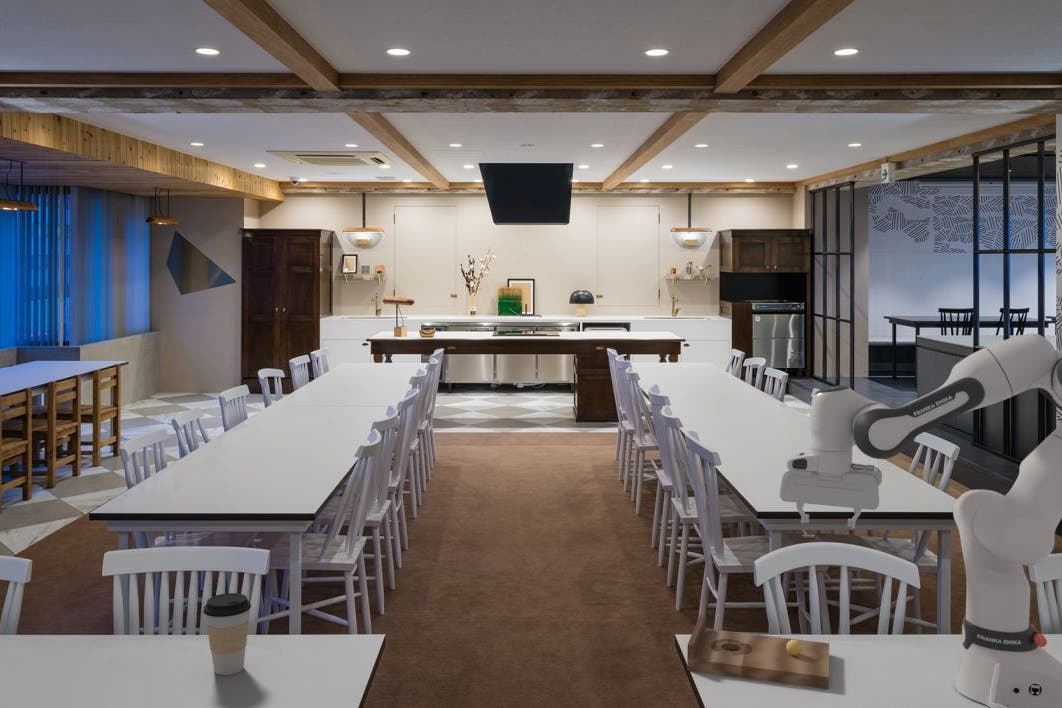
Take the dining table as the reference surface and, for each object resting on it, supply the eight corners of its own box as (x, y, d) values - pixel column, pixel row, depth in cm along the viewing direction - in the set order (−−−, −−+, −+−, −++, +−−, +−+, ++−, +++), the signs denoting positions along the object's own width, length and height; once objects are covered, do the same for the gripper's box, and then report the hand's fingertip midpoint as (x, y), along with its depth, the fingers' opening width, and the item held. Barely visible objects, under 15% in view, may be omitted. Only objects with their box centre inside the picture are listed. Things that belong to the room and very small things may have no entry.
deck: (829, 654, 197) (829, 629, 196) (828, 689, 180) (829, 662, 179) (699, 638, 206) (699, 615, 205) (687, 670, 189) (687, 644, 188)
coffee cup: (233, 681, 183) (231, 609, 182) (194, 675, 186) (192, 604, 185) (261, 663, 192) (260, 594, 191) (224, 657, 195) (222, 589, 194)
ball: (802, 653, 191) (802, 638, 191) (801, 659, 188) (802, 644, 188) (786, 651, 192) (786, 636, 192) (785, 657, 189) (786, 642, 189)
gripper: (882, 463, 192) (880, 527, 193) (783, 455, 199) (781, 517, 200) (881, 468, 186) (879, 534, 187) (779, 460, 194) (777, 523, 195)
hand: (827, 525), depth 194 cm, fingers open, 8 cm apart
